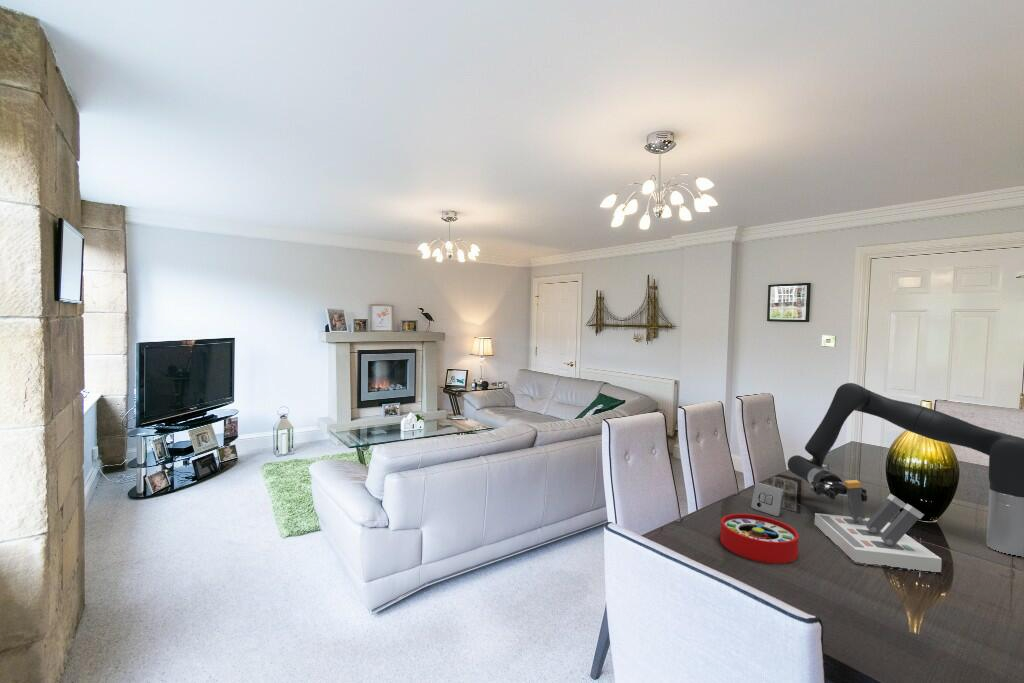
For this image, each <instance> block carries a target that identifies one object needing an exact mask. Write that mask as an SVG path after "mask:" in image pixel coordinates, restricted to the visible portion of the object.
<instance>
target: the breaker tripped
mask: <svg viewBox="0 0 1024 683" xmlns="http://www.w3.org/2000/svg"><path fill="white" fill-rule="evenodd" d="M843 483H844V484H845V486H846V489H847V495H848V497H847V499H848V501H847V502H848V507H849V512H850V517H852V518H853V519H854V520H857V521H858V522H862V521H863V519H865V518H866V516H865V510H864V504H863V503H864V502H863V501H862V496H861V490H860V487H861V488H862V484H861V481H859V480H858V479H852V480H851V479H849V480H844V481H843Z"/></svg>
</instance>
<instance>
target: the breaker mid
mask: <svg viewBox="0 0 1024 683" xmlns="http://www.w3.org/2000/svg"><path fill="white" fill-rule="evenodd" d="M906 504H907V503H905V502H904V501H903V500H901V499H899V498H898V497H897V496H895V495H893V494H892V493H890V494H889V495H888V496H887V497H886V500H885V501H884V502H883V504H881V505H880V507H879V508H878V509H877V510H876V511H875V512H874V514H872V516H871V517H870V519H869V520H868V521H867V523H866V525H867V526H866V527H867V529H869V530H870V531H871V532H872V533H876V532H877V533H879V532H880V531H881V530H882V529H883V528H884V527H885V525H886V524H887V523H888V522H889V523H890V521H891V520H892V519H893V518H894V516H895V515H896V514H897V513H899V511H900V510H901V509H904V506H905V505H906Z"/></svg>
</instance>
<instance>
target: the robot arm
mask: <svg viewBox="0 0 1024 683" xmlns="http://www.w3.org/2000/svg"><path fill="white" fill-rule="evenodd" d="M855 411H856V412H860V413H863V414H868V415H871V416H873V417H874V416H875V417H877V418H881V419H883V420H885V421H887V422H888V423H891V424H893V425H895V426H897V427H899V428H901V429H904V430H906V431H909V432H910V433H913V434H915V435H919V436H920V437H921V436H922V437H924V438H926V439H927V438H928V439H930V440H933V441H936V442H937V441H938V442H942V443H946V444H950V445H956V446H960V447H963V448H968V449H971V450H974V451H976V452H979V453H982V454H984V455H987V456H989V458H988V483H989V488H988V489H989V490H988V509H987V510H988V511H987V513H988V514H987V527H986V538H985V539H986V546H987V548H989V547H990V549H991V550H994V551H995V550H996V552H998V551H999V552H998V553H1001V552H1002V553H1001V554H1004V553H1006V554H1005V555H1008V554H1011V555H1010V556H1012V555H1016V556H1015V557H1017V556H1021V557H1020V558H1024V438H1023V437H1021V436H1016V435H1011V434H1008V433H1003V432H999V431H995V430H991V429H988V428H986V427H985V428H984V427H980V426H979V425H978V426H977V425H975V424H973V423H970V422H968V421H965V420H962V419H960V418H957V417H954V416H952V415H949V414H948V413H947V414H946V413H944V412H941V411H938V410H935V409H933V408H930V407H926V406H923V405H919V404H916V403H911V402H908V401H901V400H897V399H891V398H888V397H886V396H883V395H882V394H878V393H876V392H873V391H871V390H869V389H868V388H865V387H863V386H862V385H860V384H858V383H853V382H847V383H843V384H841V385H840V386H839V387H838V388H837V390H836V391H835V394H834V396H833V398H832V401H831V402H830V405H829V407H828V409H827V411H826V413H825V414H824V417H823V418H822V420H821V422H820V423H819V425H818V426H817V428H816V429H815V431H814V433H813V434H812V435H811V437H810V438H809V440H808V441H807V443H806V444H805V447H804V450H805V452H807V453H808V454H809V455H810V456H812V458H811V459H812V460H810V459H807V458H805V457H803V456H801V455H797V454H796V455H792V456H791V457H789V459H788V460H787V468H788V470H789V472H791V473H792V474H794V475H795V476H797V477H799V478H801V479H803V480H805V481H806V482H807V483H808V484H810V490H811V491H812V492H813V493H814V494H816V495H817V496H821V495H823V497H827V498H829V499H831V500H832V501H833V500H836V496H844V497H847V498H848V495H847V489H846V486H845V483H844V481H842V479H841V478H840V477H839V476H837V475H836V474H834V473H832V472H831V471H829V470H828V469H825V468H824V467H823V465H824V461H825V460H826V456H827V455H828V454H829V452H830V451H831V449H832V448H833V446H834V445H835V443H836V441H837V440H838V438H839V434H840V433H841V430H842V428H843V425H844V424H845V422H846V420H847V419H848V418H849V416H850V415H851V414H852V413H854V412H855ZM860 490H861V496H862V502H863V503H865V502H867V501H868V495H867V489H865V488H863V487H862V486H861V487H860Z"/></svg>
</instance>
